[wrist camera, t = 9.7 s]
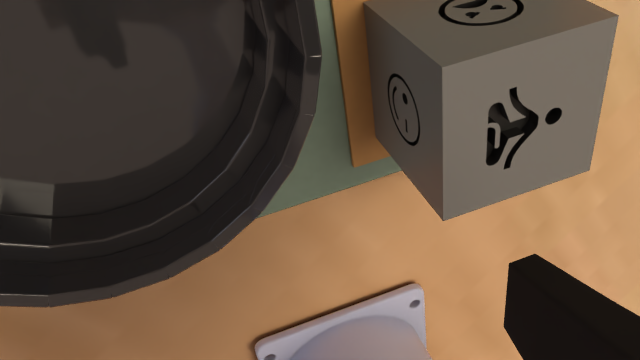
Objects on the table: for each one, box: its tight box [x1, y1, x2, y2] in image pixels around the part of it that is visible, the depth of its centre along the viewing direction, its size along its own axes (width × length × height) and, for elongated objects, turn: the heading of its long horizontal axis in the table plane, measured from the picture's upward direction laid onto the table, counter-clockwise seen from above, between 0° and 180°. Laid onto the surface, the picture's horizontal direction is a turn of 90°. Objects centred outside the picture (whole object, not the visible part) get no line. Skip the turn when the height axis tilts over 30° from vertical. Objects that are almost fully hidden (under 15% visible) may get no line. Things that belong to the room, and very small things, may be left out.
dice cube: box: [363, 0, 619, 221], centre depth 18 cm, size 5×5×5 cm
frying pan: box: [0, 0, 322, 307], centre depth 15 cm, size 13×13×3 cm
